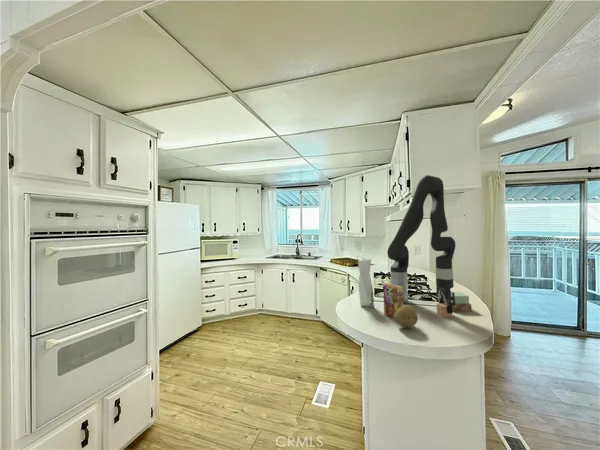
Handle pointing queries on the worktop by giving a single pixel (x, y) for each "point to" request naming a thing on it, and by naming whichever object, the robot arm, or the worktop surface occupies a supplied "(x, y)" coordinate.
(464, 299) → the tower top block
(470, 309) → the tower base block
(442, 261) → the robot arm
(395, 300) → the candy box
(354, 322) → the worktop surface
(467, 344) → the worktop surface
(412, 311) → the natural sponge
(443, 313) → the terracotta block
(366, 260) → the skyscraper
